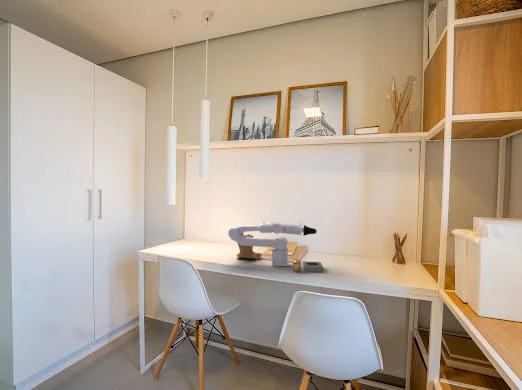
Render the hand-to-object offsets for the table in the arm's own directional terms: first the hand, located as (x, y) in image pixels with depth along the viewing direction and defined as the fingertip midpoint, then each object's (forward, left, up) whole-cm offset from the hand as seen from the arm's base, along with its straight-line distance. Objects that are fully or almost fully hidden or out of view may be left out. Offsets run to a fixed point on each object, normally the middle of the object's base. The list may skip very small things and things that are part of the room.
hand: (316, 231), depth 163 cm
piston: (-12, -11, -20) cm, 26 cm away
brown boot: (-41, +13, -20) cm, 47 cm away
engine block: (-3, -7, -20) cm, 22 cm away
